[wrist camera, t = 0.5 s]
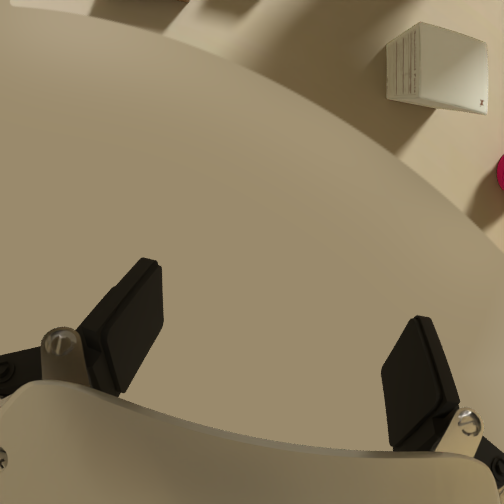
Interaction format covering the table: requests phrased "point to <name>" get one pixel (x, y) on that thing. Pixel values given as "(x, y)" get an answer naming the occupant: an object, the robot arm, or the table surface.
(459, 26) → the table surface
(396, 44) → the supplement box
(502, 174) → the pepper mill
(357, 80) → the table surface
